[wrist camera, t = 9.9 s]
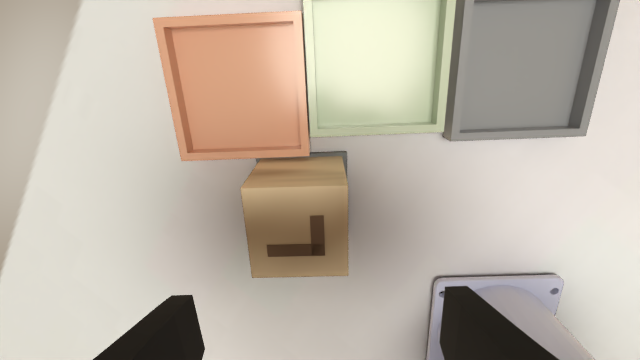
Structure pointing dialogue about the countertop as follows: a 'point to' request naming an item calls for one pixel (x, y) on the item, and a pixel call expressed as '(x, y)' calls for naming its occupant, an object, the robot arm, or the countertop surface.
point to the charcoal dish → (526, 67)
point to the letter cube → (297, 217)
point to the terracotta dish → (236, 84)
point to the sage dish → (377, 65)
